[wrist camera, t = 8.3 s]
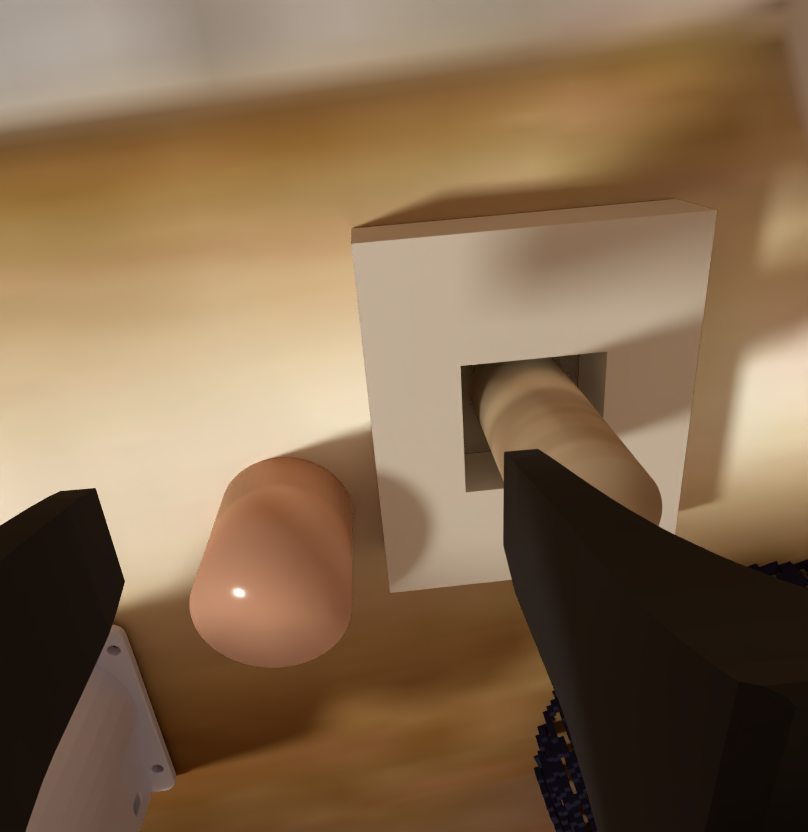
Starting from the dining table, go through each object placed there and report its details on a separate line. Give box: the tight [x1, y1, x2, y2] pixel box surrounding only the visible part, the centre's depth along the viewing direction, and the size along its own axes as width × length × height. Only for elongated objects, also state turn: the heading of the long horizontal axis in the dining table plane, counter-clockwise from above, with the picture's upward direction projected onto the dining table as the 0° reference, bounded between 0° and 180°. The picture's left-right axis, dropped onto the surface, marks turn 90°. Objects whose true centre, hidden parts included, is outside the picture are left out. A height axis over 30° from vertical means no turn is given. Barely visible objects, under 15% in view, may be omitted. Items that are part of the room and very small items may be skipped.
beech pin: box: [469, 357, 662, 526], centre depth 18 cm, size 3×3×8 cm
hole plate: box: [351, 199, 717, 593], centre depth 21 cm, size 12×10×2 cm
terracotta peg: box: [189, 458, 353, 668], centre depth 21 cm, size 5×5×5 cm
